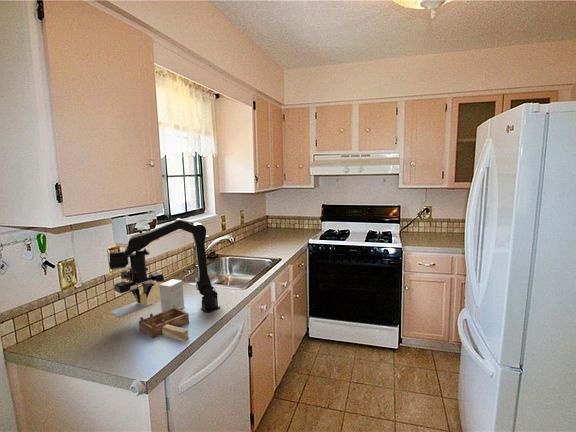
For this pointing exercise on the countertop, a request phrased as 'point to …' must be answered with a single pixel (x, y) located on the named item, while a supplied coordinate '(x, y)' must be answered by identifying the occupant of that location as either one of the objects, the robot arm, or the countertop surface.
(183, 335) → the tan block
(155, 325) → the brown frame
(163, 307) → the small box
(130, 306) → the lid
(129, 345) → the countertop surface
